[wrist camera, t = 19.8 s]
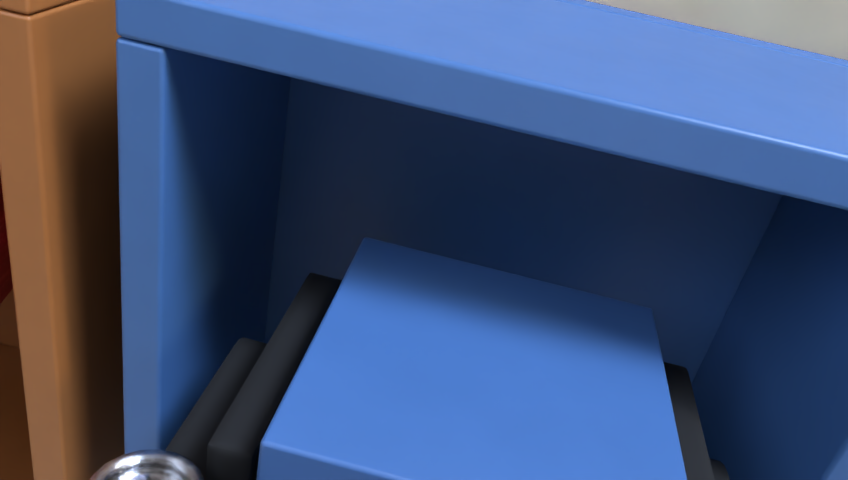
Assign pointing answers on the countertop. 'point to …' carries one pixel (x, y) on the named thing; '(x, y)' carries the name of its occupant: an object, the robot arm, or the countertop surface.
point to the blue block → (473, 381)
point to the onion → (4, 254)
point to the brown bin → (60, 240)
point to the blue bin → (491, 189)
